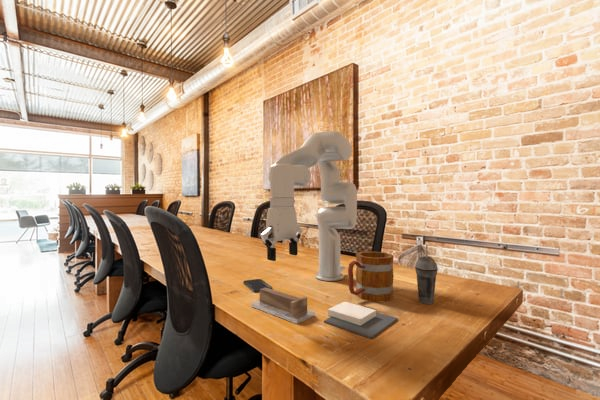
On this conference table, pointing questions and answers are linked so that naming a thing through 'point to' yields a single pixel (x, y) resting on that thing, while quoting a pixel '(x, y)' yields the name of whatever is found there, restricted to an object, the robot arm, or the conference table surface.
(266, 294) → the brown t-shaped post
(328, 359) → the conference table surface
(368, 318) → the tile
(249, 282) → the phone
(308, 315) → the tool rest
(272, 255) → the robot arm
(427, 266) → the beverage cup
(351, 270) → the mug
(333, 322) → the mat
